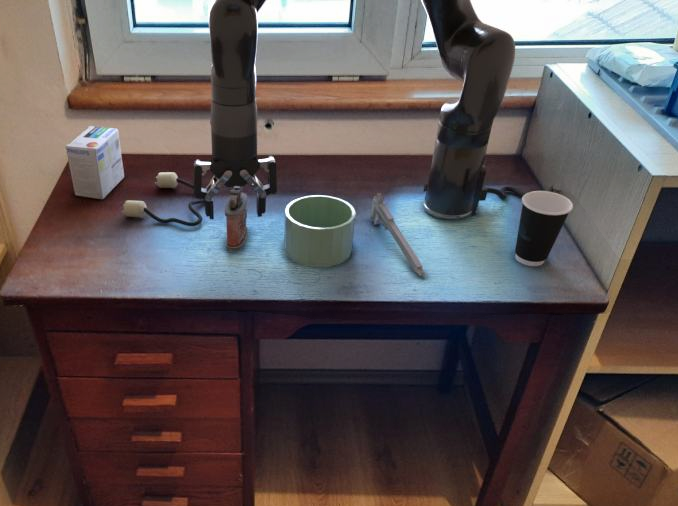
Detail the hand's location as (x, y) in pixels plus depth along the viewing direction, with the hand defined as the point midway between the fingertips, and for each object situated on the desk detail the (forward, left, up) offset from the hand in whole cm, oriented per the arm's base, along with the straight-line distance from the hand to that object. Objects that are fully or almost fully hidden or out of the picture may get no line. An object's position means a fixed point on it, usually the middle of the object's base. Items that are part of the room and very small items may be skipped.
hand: (235, 216), depth 117 cm
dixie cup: (-50, +13, -5) cm, 52 cm away
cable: (+11, -15, -5) cm, 19 cm away
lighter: (0, 0, -5) cm, 5 cm away
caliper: (-28, +6, -5) cm, 29 cm away
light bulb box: (+26, -25, -5) cm, 36 cm away
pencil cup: (-14, +5, -5) cm, 16 cm away
